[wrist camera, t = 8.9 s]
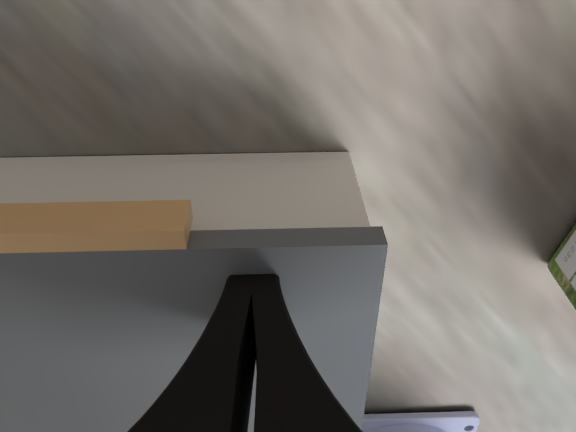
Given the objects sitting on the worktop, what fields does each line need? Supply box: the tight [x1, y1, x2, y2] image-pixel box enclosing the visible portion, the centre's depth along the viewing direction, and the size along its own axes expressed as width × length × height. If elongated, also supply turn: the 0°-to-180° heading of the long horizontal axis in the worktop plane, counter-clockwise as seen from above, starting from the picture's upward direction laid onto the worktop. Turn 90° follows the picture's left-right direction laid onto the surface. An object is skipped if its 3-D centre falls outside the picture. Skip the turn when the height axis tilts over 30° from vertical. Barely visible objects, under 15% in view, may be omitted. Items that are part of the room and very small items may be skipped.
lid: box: [0, 200, 388, 432], centre depth 17 cm, size 13×16×1 cm
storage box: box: [0, 152, 370, 231], centre depth 19 cm, size 12×16×5 cm
